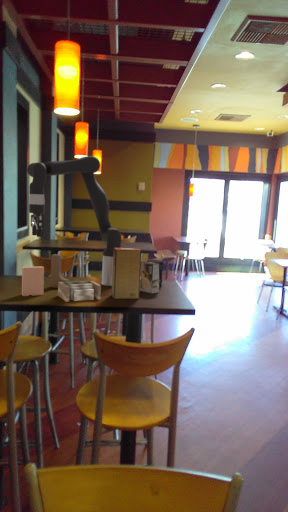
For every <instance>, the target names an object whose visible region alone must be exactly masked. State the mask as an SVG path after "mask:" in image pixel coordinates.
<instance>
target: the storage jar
mask: <svg viewBox="0 0 288 512" xmlns="http://www.w3.org/2000/svg"><path fill="white" fill-rule="evenodd" d="M146 262H152V263H158V264H160V277H159V288H162V286H163V285H162V283H163V270H164V261H163V260H159V259H147V260H146Z"/></svg>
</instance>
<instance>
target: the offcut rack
mask: <svg viewBox="0 0 288 512" xmlns="http://www.w3.org/2000/svg"><path fill="white" fill-rule="evenodd" d="M101 290H102V284H99V283H97V282H95V281H93V280H80V281H79V280H75V281H74V280H73V281H69V282H58V288H57V296H58V297H59V298H60V299H62V300H63V301H64V302H66V303H67V302H69V303H70V301H74V302H77V301H80V302H81V301H90V300H91V301H93V300H95V299H96V300H99V301H100V300H101V295H102V293H101V292H102V291H101Z"/></svg>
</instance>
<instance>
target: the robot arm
mask: <svg viewBox="0 0 288 512" xmlns="http://www.w3.org/2000/svg"><path fill="white" fill-rule="evenodd" d="M100 168H101V163H100V160H99V159H98V158H97V157H96V156H93V155H87V156H83V157H81V158H79V159H72V160H69V159H68V160H54V161H47V162H39V161H38V162H32V163H30V164H28V165H27V167H26V172H27V174H28V175H29V177H31V178H32V181H31V182H30V183H29V186H28V187H29V188H28V190H29V197H28V212H29V214H30V227H31V230H32V231H31V235H32V236H36V237H38V238H41V237H42V229H43V228H44V216H43V215H41V214H45V202H46V199H45V184H46V180H47V176H60V175H61V176H62V175H66V174H72V173H78V172H80V175H81V177H82V181H83V182H84V184H85V187H86V191H87V194H88V195H89V199H90V203H91V206H92V209H93V211H94V214H95V215H94V216H95V218H96V221H97V224H98V228H99V229H98V230H99V233H100V237H101V239H102V241H103V242H104V243H105V244H106V248H105V249H104V250H103V251H102V263H101V264H102V268H101V286H105V287H106V286H107V287H112V274H113V251H114V248H122V246H121V245H122V233H121V231H120V230H119V229H117V228H113V227H112V225H111V222H110V217H109V215H110V214H109V213H110V204H109V200H108V196H107V194H106V192H105V191H104V189H103V188H102V187H101V185H100V184H99V183H98V181H97V179H96V176H95V173H97V172H98V171H99V170H100Z"/></svg>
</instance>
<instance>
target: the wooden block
mask: <svg viewBox="0 0 288 512" xmlns="http://www.w3.org/2000/svg"><path fill="white" fill-rule="evenodd" d="M62 257H63V256H62V254H59V253H57V254H56V253H53V254H51V257H50V259H51V260H50V288H53V289H54V288H55V289H58V282H70V280H69V279H68V278H65V277H64V276H63V274H62V264H63V263H62V259H63V258H62Z"/></svg>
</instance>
